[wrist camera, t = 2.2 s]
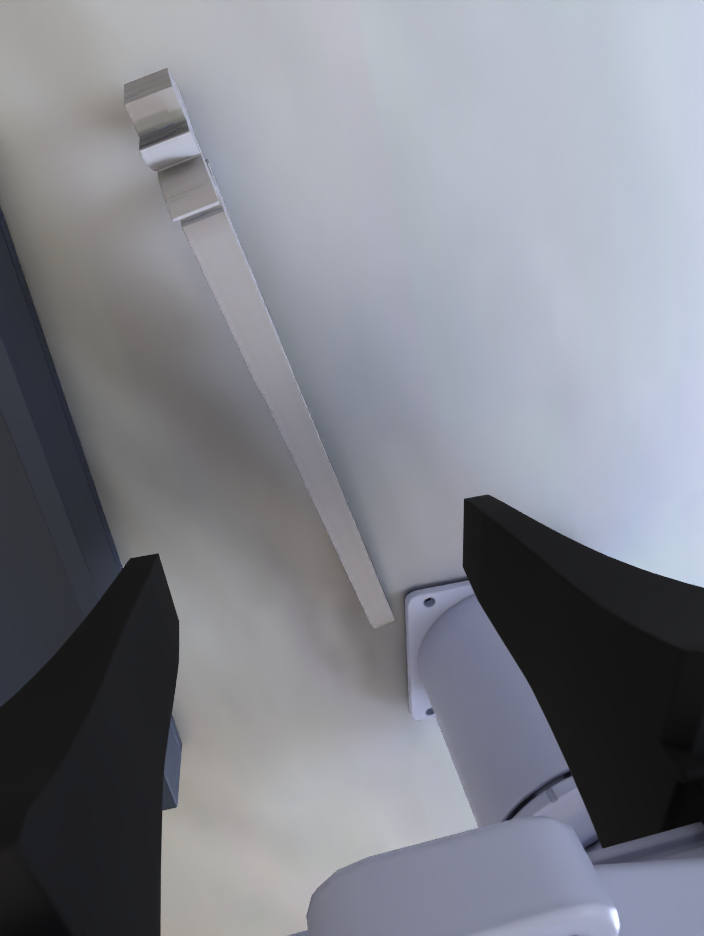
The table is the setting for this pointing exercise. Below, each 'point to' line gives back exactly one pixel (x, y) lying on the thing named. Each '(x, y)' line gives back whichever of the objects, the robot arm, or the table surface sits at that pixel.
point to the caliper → (245, 312)
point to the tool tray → (46, 507)
